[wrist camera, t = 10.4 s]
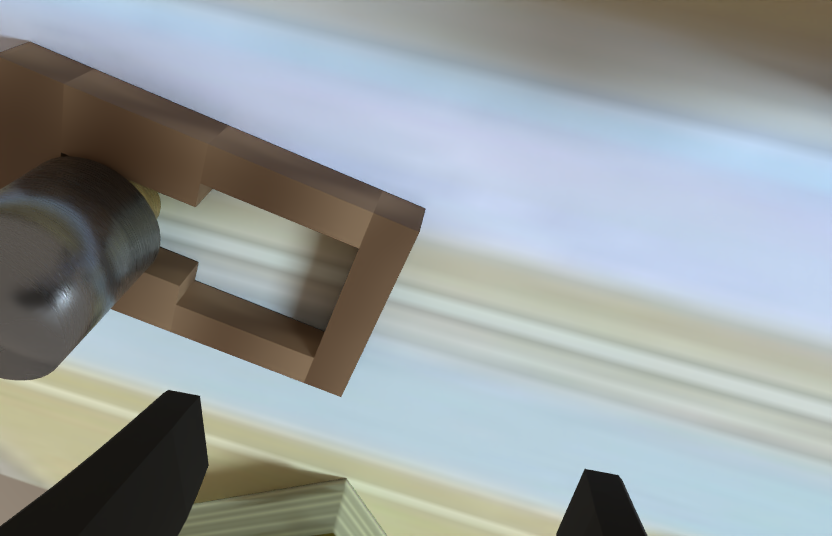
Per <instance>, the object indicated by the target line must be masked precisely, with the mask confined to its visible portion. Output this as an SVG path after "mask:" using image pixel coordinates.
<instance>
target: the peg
mask: <svg viewBox="0 0 832 536" xmlns="http://www.w3.org/2000/svg"><path fill="white" fill-rule="evenodd" d="M160 209H161V203H160V198H159V194H158V192H157V191H154V190H152V189H150V188H147V187H145V186H142V185H140V184H137V183H135V182H132V181H130V180H127V179H125V178H124V177H123V176H122V175H120V174H119V173H117V172H116V171H114V170H112V169H111V168H109V167H107V166H105V165H103V164H100V163H98V162H96V161H92V160H89V159H86V158H81V157H72V156H65V157H57V158H53V159H50V160H48V161H45V162H44V163H42V164H40V165H39V166H37V167H36V168H34V169H32V170H31V171H29V172H28V173H26V174H24V175H23V176H21V177H20V178H18V179H16V180H15V181H13V182H12V183H10V184H8V185H7V186H5V187H4V188H2V189H0V378H3V379H9V380H33V379H37V378H41V377H43V376H46V375H48V374H49V373H51V372H52V371H54V370H55V369H56V368H57V367H58V365H59V364H60V363H61V362H62V361H63V360H64V359H65V358H66V357H67V356H68V355H69V353H70V352H71V351H72V350H73V349H74V348H75V347H76V346H77V345H78V344H79V343H80V342H81V340H82V339H83V338H84V337H85V336H86V335H87V334H88V333H89V332H90V331H91V330H92V328H93V327H94V326H95V325H96V324H97V323H98V322H99V321H100V320H101V319H102V318H103V317H104V315H105V314H106V313H107V312H108V311H109V310H110V309H111V308H112V307H113V306H114V305H115V303H116V302H117V301H118V300H119V299H120V298H121V297H122V296H123V295H124V294H125V293H126V291H127V290H128V289H129V288H130V287H131V286H132V285H133V284H134V283H135V282H136V281H137V280H138V278H139V277H140V276H141V275H142V274H143V273H144V272H145V271H146V270H147V269H148V268H149V266H150V265H151V264H152V263H153V262H154V260H155V259H156V257H157V255H158V252H159V248H160V230H159V226H158V222H157V218H158V216H159V213H160Z"/></svg>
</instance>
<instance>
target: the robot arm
mask: <svg viewBox="0 0 832 536" xmlns="http://www.w3.org/2000/svg"><path fill="white" fill-rule="evenodd" d="M208 466H209V464H208V456H207V448H206V440H205V432H204V425H203V417H202V409H201V401H200V396H198V395H192V394H187V393H182V392H177V391H171V390H168V391H166V392H165V393H163V394H162V395H161V396H160V397H159V398H157V399H156V400H155V401H154V402H153V403H152V404H150V405H149V406H148V407H147V408H146V409H145V410H144V411H143V412H141V413H140V414H139V415H138V416H137V417H136V418H135V419H133V420H132V421H131V422H130V423H129V424H128V425H126V426H125V427H124V428H123V429H122V430H121V431H120V432H118V433H117V434H116V435H115V436H114V437H112V438H111V439H110V440H109V441H108V442H107V443H105V444H104V445H103V446H102V447H101V448H100V449H98V450H97V451H96V452H95V453H93V454H92V455H91V456H90V457H89V458H87V459H86V460H85V461H84V462H82V463H81V464H80V465H79V466H78V467H76V468H75V469H74V470H73V471H71V472H70V473H69V474H68V475H67V476H65V477H64V478H63V479H62V480H60V481H59V482H58V483H57V484H55V485H54V486H53V487H52V488H50V489H49V490H48V491H46V492H45V493H44V494H42V495H41V496H40V497H38V498H37V499H36V500H35V501H33V502H32V503H30V504H29V505H28V506H26V507H25V508H24V509H22V510H21V511H20V512H19V513H17V514H16V515H15V516H13V517H12V518H11V519H9V520H8V521H7V522H5V523H4V524H2V525H1V526H0V536H178V535H179V533H180V531H181V529H182V527H183V526H184V524H185V522H186V520H187V518H188V516H189V513H190V511H191V508H192V506H193V504H194V501H195V499H196V496H197V494H198V491H199V489H200V486H201V484H202V481H203V479H204V476H205V474H206V471H207V468H208ZM556 536H647V534H646V532H645V529H644V527H643V525H642V523H641V521H640V519H639V517H638V514H637V512H636V510H635V508H634V506H633V503H632V501H631V499H630V497H629V494H628V492H627V490H626V487H625V485H624V483H623V481H622V479H621V478H620V477H619V475H615V474H609V473H604V472H599V471H593V470H588V469H584V472H583V474H582V476H581V479H580V481H579V483H578V485H577V488H576V490H575V492H574V495H573V497H572V499H571V501H570V504H569V506H568V508H567V510H566V513H565V515H564V517H563V520H562V522H561V524H560V526H559V529H558V531H557V533H556Z"/></svg>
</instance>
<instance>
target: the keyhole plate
mask: <svg viewBox="0 0 832 536" xmlns="http://www.w3.org/2000/svg"><path fill="white" fill-rule="evenodd" d="M65 156H72V157H81V158H86V159H89V160H92V161H96V162H98V163H100V164H103V165H105V166H107V167H109V168H111V169H112V170H114V171H116V172H117V173H119V174H120V175H122V176H123V177H124V178H125V179H127V180H130V181H132V182H135V183H137V184H140V185H142V186H145V187H147V188H150V189H152V190H154V191H157V192H159V193H162V194H164V195H167V196H169V197H172V198H174V199H177V200H179V201H182V202H184V203H187V204H189V205H191V206H194V207H196V206H197V205H198V204H199V203H200V202H201V201H202V200H203V199H204V198H205V196H206V195H207V194H208V193H209V192H210V191H211V190H212V189H215V190H217V191H220V192H222V193H225V194H227V195H230V196H232V197H234V198H237V199H239V200H242V201H244V202H247V203H249V204H251V205H254V206H256V207H259V208H261V209H264V210H266V211H269V212H271V213H273V214H276V215H278V216H281V217H283V218H286V219H288V220H290V221H293V222H295V223H298V224H300V225H303V226H305V227H308V228H310V229H312V230H315V231H317V232H320V233H322V234H325V235H327V236H329V237H332V238H334V239H337V240H339V241H342V242H344V243H347V244H349V245H351V246H354V247H356V248H359V250H358V252H357V254H356V257H355V259H354V262H353V264H352V267H351V269H350V271H349V274H348V276H347V279H346V281H345V284H344V286H343V288H342V291H341V293H340V296H339V298H338V301H337V303H336V305H335V308H334V310H333V313H332V315H331V318H330V320H329V323H328V325H327V327H326V330H325V332H324V331H322V330H319V329H317V328H314V327H312V326H309V325H307V324H304V323H301V322H299V321H296V320H294V319H291V318H289V317H286V316H284V315H281V314H279V313H276V312H273V311H271V310H268V309H266V308H263V307H261V306H258V305H256V304H253V303H251V302H248V301H246V300H243V299H240V298H238V297H235V296H233V295H230V294H228V293H225V292H223V291H220V290H218V289H215V288H212V287H210V286H207V285H205V284H202V283H200V282H197V281H195V276H196V272H197V267H198V263H199V262H196V261H194V260H191V259H189V258H186V257H184V256H181V255H178V254H176V253H173V252H171V251H168V250H166V249H163V248H161V247H160V248H159V252H158V255H157V257H156V259H155V260H154V262H153V263H152V264H151V265H150V266H149V268H148V269H147V270H146V271H145V272H144V273H143V274H142V275H141V276H140V277H139V278H138V280H137V281H136V282H135V283H134V284H133V285H132V286H131V287H130V288H129V289H128V290H127V291H126V293H125V294H124V295H123V296H122V297H121V298H120V299H119V300H118V301H117V302H116V303H115V305H114V306H113V307H112V308H111V309H112V310H115V311H117V312H120V313H123V314H125V315H128V316H131V317H133V318H136V319H138V320H141V321H144V322H146V323H149V324H151V325H154V326H157V327H159V328H162V329H164V330H167V331H170V332H172V333H175V334H178V335H180V336H183V337H185V338H188V339H191V340H193V341H196V342H198V343H201V344H204V345H206V346H209V347H212V348H214V349H217V350H219V351H222V352H225V353H227V354H230V355H232V356H235V357H238V358H240V359H243V360H246V361H248V362H251V363H253V364H256V365H259V366H261V367H264V368H266V369H269V370H272V371H274V372H277V373H280V374H282V375H285V376H287V377H290V378H293V379H295V380H298V381H300V382H303V383H306V384H308V385H311V386H314V387H316V388H319V389H321V390H324V391H327V392H329V393H332V394H334V395H337V396H340V397H341V396H342V394H343V392H344V390H345V388H346V386H347V384H348V381H349V379H350V377H351V375H352V373H353V371H354V369H355V367H356V365H357V363H358V360H359V358H360V356H361V354H362V352H363V350H364V348H365V346H366V344H367V341H368V339H369V337H370V335H371V333H372V331H373V329H374V327H375V325H376V323H377V320H378V318H379V316H380V314H381V312H382V310H383V308H384V306H385V304H386V301H387V299H388V297H389V295H390V293H391V291H392V289H393V287H394V285H395V283H396V280H397V278H398V276H399V274H400V272H401V270H402V268H403V266H404V264H405V262H406V259H407V257H408V255H409V253H410V251H411V249H412V247H413V245H414V243H415V240H416V238H417V236H418V234H419V232H420V228H421V224H422V221H423V217H424V213H425V208H422V207H420V206H417V205H415V204H413V203H410V202H408V201H406V200H403V199H401V198H398V197H396V196H394V195H391V194H389V193H387V192H384V191H382V190H380V189H377V188H375V187H372V186H370V185H368V184H365V183H363V182H361V181H358V180H356V179H353V178H351V177H349V176H346V175H344V174H342V173H339V172H337V171H335V170H332V169H330V168H327V167H325V166H323V165H320V164H318V163H316V162H313V161H311V160H308V159H306V158H304V157H301V156H299V155H297V154H294V153H292V152H290V151H287V150H285V149H282V148H280V147H278V146H275V145H273V144H271V143H268V142H266V141H263V140H261V139H259V138H256V137H254V136H252V135H249V134H247V133H245V132H242V131H240V130H237V129H235V128H233V127H230V126H228V125H226V124H223V123H221V122H219V121H216V120H214V119H211V118H209V117H207V116H204V115H202V114H200V113H197V112H195V111H192V110H190V109H188V108H185V107H183V106H181V105H178V104H176V103H174V102H171V101H169V100H166V99H164V98H162V97H159V96H157V95H155V94H152V93H150V92H147V91H145V90H143V89H140V88H138V87H136V86H133V85H131V84H129V83H126V82H124V81H121V80H119V79H117V78H114V77H112V76H110V75H107V74H105V73H102V72H100V71H98V70H95V69H93V68H91V67H88V66H86V65H84V64H81V63H79V62H76V61H74V60H72V59H69V58H67V57H65V56H62V55H60V54H57V53H55V52H53V51H50V50H48V49H46V48H43V47H41V46H39V45H36V44H34V43H31V42H28V43H25V44H22V45H19V46H17V47H14V48H11V49H8V50H6V51H3V52H0V189H2V188H4V187H5V186H7V185H8V184H10V183H12V182H13V181H15V180H16V179H18V178H20V177H21V176H23V175H24V174H26V173H28V172H29V171H31V170H32V169H34V168H36V167H37V166H39V165H40V164H42V163H44V162H45V161H48V160H50V159H53V158H57V157H65Z"/></svg>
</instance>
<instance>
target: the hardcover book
mask: <svg viewBox="0 0 832 536" xmlns="http://www.w3.org/2000/svg"><path fill="white" fill-rule="evenodd" d="M178 536H387V535H386V533H385V532H384V530H383V529H382V528H381V526H380V525H379V523H378V522H377V520H376V519H375V518H374V516H373V515H372V513H371V512H370V511H369V509H368V508H367V506H366V505H365V504H364V502H363V501H362V499H361V498H360V497H359V495H358V494H357V492H356V491H355V490H354V488H353V487H352V485H351V484H350V483H349V481H348V480H347V478H345V479H339V480H333V481H327V482H321V483H315V484H309V485H303V486H297V487H291V488H285V489H279V490H273V491H267V492H261V493H255V494H249V495H243V496H238V497H232V498H226V499H220V500H214V501H208V502H202V503H196V504H193V506H192V508H191V511H190V513H189V516H188V518H187V520H186V522H185V524H184V526H183V527H182V529H181V531H180V533H179V535H178Z"/></svg>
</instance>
